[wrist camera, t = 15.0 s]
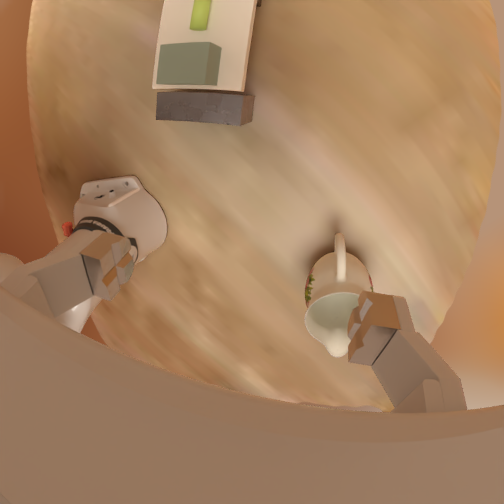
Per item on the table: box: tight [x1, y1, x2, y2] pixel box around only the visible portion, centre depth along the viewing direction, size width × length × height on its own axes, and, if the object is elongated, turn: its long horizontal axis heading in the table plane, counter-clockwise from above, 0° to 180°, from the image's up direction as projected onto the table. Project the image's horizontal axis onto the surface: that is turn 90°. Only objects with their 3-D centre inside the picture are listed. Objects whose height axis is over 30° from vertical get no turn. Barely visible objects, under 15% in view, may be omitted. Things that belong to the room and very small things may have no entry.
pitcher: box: [305, 233, 373, 357], centre depth 41 cm, size 11×18×14 cm, turn 9°
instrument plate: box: [152, 0, 257, 92], centre depth 19 cm, size 20×12×14 cm, turn 173°
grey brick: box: [156, 0, 261, 126], centre depth 28 cm, size 12×25×7 cm, turn 173°
